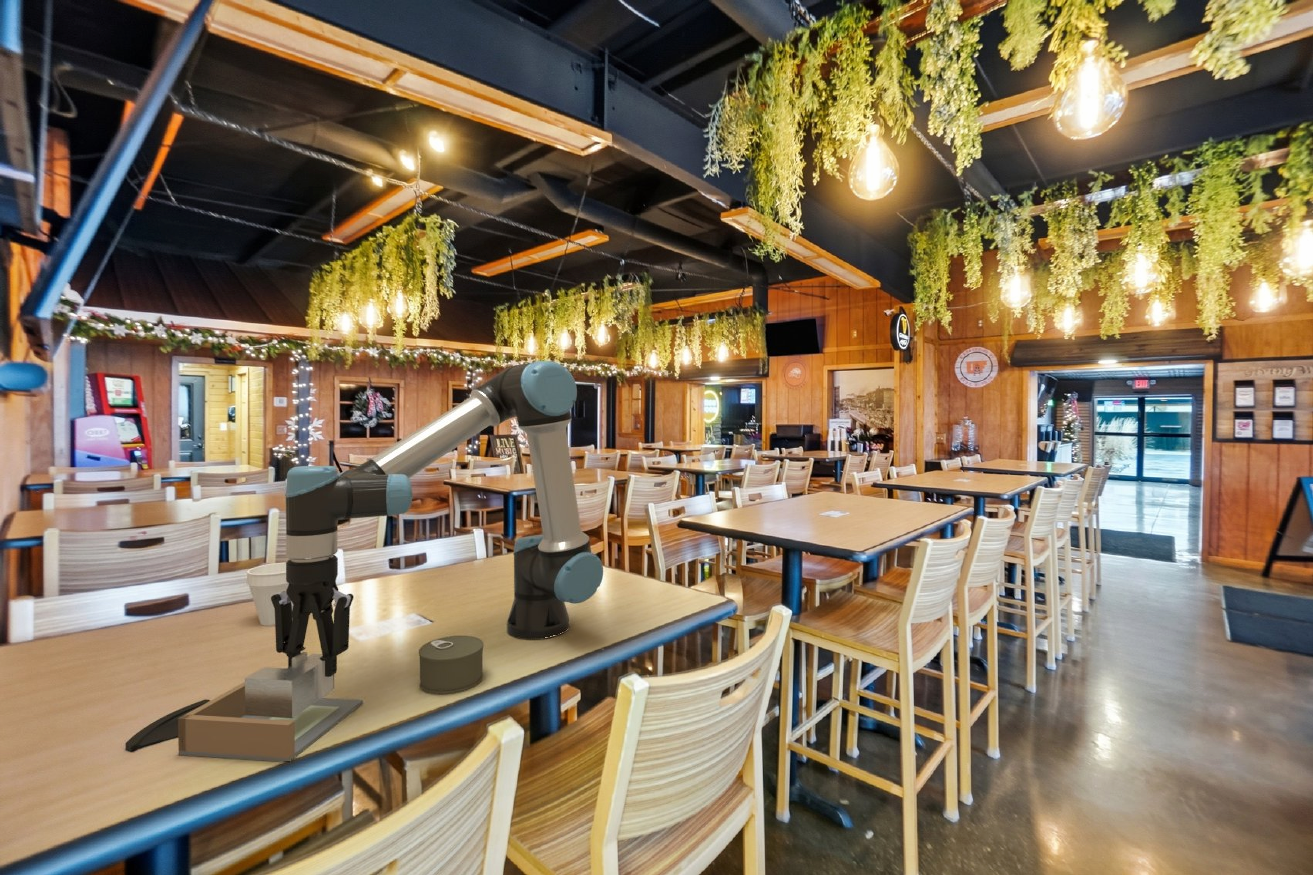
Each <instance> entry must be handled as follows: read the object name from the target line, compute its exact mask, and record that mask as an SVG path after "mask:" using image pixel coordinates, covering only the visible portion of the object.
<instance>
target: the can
mask: <svg viewBox="0 0 1313 875" xmlns="http://www.w3.org/2000/svg"><path fill="white" fill-rule="evenodd" d="M483 651H484V641H483V640H482V639H481V638H480V637H479V638H478V637H477V636H473V635H451V636H443V637H439V638H437V639H434V640H431V641H428V642H426V643H424V644H423V645H422V646H421V647H419V649H418V656H419V681H420V682H419V689H420V690H421V691H423V692H424V693H427V694H430V695H436V696H447V695H455V694H458V693H462V692H465V691H468V690H471V689H473V688H475V687H476V686H477V685H479V684H480V683H481V682H482V681H483V677H484V676H483V667H484V666H483V659H484V658H483V656H484V655H483V654H484V652H483Z"/></svg>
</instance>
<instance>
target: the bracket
mask: <svg viewBox="0 0 1313 875" xmlns="http://www.w3.org/2000/svg"><path fill="white" fill-rule="evenodd" d="M322 656H323V655H322V653H312V654H309V655H307V657H306V658H304V659H303V660H301V661H299V662H297V663H296V664H294V665H292V666H290V667H289V668H288V667H287V668H286V667H285V668H284V667H267V666H264V667H263V668H260V669H259V670H257V671H255V672H253V673H251V674H250V675H248V676H246V677H244V682H245V715H248V716H264V717H279V718H293V717H295V716H296V715H298V714H299V713H300V712H302V711H303V710H305V709H306V708H308V707H309V706H310V705H312V704H313V703H315V702H316V701H317V700H319V699H320V698H318V659H320V657H322ZM333 690H335V674H334V675H333Z"/></svg>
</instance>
